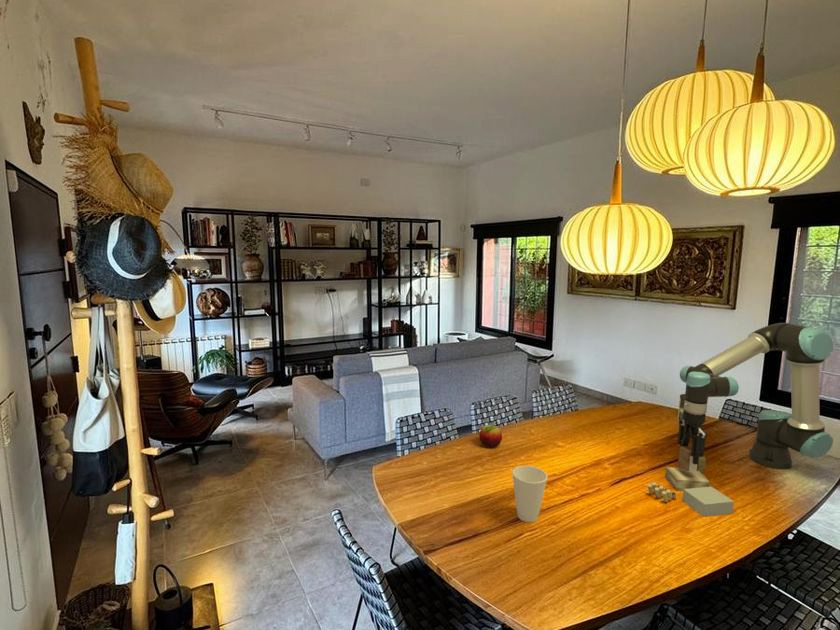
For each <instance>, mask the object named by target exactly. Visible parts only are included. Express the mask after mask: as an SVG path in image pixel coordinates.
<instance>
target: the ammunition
mask: <svg viewBox="0 0 840 630" xmlns="http://www.w3.org/2000/svg"><path fill="white" fill-rule="evenodd" d="M647 488H648V492H649V493H650V495H652V496H654V492H655V496H656V498H657V499H658V500H659V499H661V498H662V499H663V501H664V502H665V503H668V502H669V500H671V499H674V500H676V499H677V493H676V492H673V491H671V489H669V488H665V487H664V486H663V485H661V484H657V483H656V482H655V481H653V482H651V483H648V484H647Z"/></svg>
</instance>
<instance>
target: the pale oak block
mask: <svg viewBox="0 0 840 630" xmlns="http://www.w3.org/2000/svg"><path fill="white" fill-rule="evenodd" d="M664 475H665V476H664V479H666V481H667V482H668V483H669V484H670V485H671V487H672V486H673V487H672V488H673V489H674V491H676V492H683V489H691V488H701V487H710V484H711V483H710V481H709V479H708V478H707V477H705V475H704V474H703V473H700V472H699V471H685V470H684V469H682V468H681V467H671V466H670V467H669V466H666V467H665V474H664Z"/></svg>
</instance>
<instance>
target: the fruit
mask: <svg viewBox="0 0 840 630" xmlns="http://www.w3.org/2000/svg"><path fill="white" fill-rule="evenodd" d="M502 439H503V434H502V431H501V429H500V428H499V427H497V425H493V424H486V425H483V426H481V428H480V431H479V441H480V443H481V444H482V445H483V447H486V448H490V449H491V448H493V449H494V448H496V447H498V446H499V445H500V444H501V442H502Z"/></svg>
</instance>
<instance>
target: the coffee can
mask: <svg viewBox="0 0 840 630" xmlns="http://www.w3.org/2000/svg"><path fill="white" fill-rule="evenodd" d="M684 402H685V393H682V394H680V395H679V403H678V412H677V421H678V422H679V421H680V420H683V411H684V410H685V409H684Z"/></svg>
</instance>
